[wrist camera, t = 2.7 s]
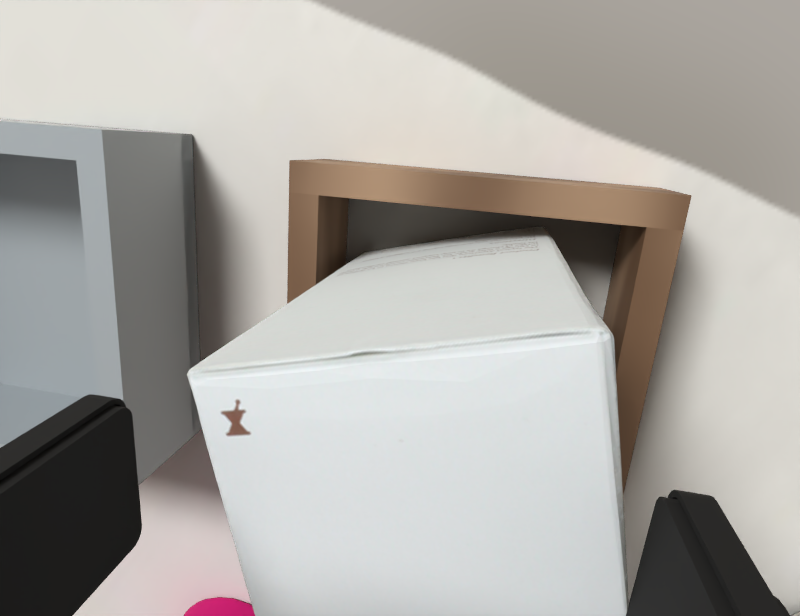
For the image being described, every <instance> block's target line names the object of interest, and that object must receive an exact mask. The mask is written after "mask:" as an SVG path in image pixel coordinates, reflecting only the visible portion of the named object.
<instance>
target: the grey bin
mask: <svg viewBox="0 0 800 616" xmlns="http://www.w3.org/2000/svg"><path fill="white" fill-rule="evenodd" d="M198 363H200V345H199V316H198V286H197V257H196V228H195V198H194V169H193V139H192V134H179V133H167V132H155V131H143V130H130V129H118V128H106V127H94V126H81V125H69V124H57V123H45V122H32V121H20V120H8V119H0V448H1V447H2V446H4V445H6V444H7V443H9V442H11V441H12V440H14V439H15V438H17V437H19V436H20V435H22V434H24V433H25V432H27V431H28V430H30V429H32V428H33V427H35V426H37V425H38V424H40V423H42V422H43V421H45V420H46V419H48V418H50V417H51V416H53V415H55V414H56V413H58V412H59V411H61V410H63V409H64V408H66V407H68V406H69V405H71V404H73V403H74V402H76V401H77V400H79V399H81V398H82V397H84V396H86V395H89V394H94V395H101V396H107V397H113V398H119V399H121V400H123V402H124V403H125V405H126V408H128V409H130V411H131V412H132V416H133V428H134V440H135V451H136V463H137V475H138V485H139V484H140V483H142V482H143V481H144V480H145V479H146V478H147V477H148V476H149V475H151V474H152V473H153V472H154V471H155V470H156V469H157V468H158V467H160V466H161V465H162V464H163V463H164V462H165V461H166V460H167V459H168V458H170V457H171V456H172V455H173V454H174V453H175V452H176V451H177V450H179V449H180V448H181V447H182V446H183V445H184V444H185V443H186V442H188V441H189V440H190V439H191V438H192V437H193V436H194V435H195V434H197V433H198V432H199V431H200V430H201V429H202V426H201V422H200V418H199V414H198V410H197V406H196V402H195V399H194V396H193V393H192V389H191V386H190V383H189V380H188V377H187V373H188V371H189V370H190V369H191V368H192V367H194V366H195V365H197V364H198Z"/></svg>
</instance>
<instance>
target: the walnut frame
mask: <svg viewBox="0 0 800 616" xmlns="http://www.w3.org/2000/svg"><path fill="white" fill-rule="evenodd" d="M349 198H352V199H363V200H373V201H383V202H393V203H403V204H414V205H424V206H434V207H444V208H455V209H465V210H475V211H485V212H496V213H506V214H516V215H526V216H536V217H547V218H557V219H567V220H577V221H588V222H598V223H608V224H618V225H621V229H620V234H619V239H618V244H617V250H616V255H615V260H614V265H613V270H612V275H611V280H610V286H609V291H608V296H607V301H606V306H605V311H604V317H603V322H604V323H605V324H606V325H607V327H608V328H609V330H610V331H611V332H612V334H613V336H614V346H615V367H616V384H617V401H618V417H619V434H620V450H621V468H622V487H623V493H624V489H625V485H626V480H627V476H628V471H629V467H630V463H631V458H632V454H633V450H634V445H635V441H636V436H637V432H638V428H639V423H640V419H641V414H642V410H643V406H644V401H645V397H646V393H647V388H648V384H649V379H650V375H651V371H652V366H653V362H654V358H655V353H656V349H657V344H658V340H659V336H660V331H661V327H662V322H663V318H664V314H665V309H666V305H667V301H668V296H669V292H670V287H671V283H672V279H673V274H674V270H675V265H676V261H677V257H678V252H679V248H680V244H681V239H682V235H683V230H684V226H685V222H686V217H687V213H688V208H689V204H690V200H691V195H687V194H683V193H679V192H674V191H670V190H666V189H662V188H655V187H643V186H631V185H620V184H608V183H597V182H585V181H573V180H562V179H550V178H538V177H527V176H515V175H504V174H492V173H480V172H469V171H457V170H445V169H434V168H422V167H411V166H399V165H387V164H376V163H364V162H352V161H341V160H329V159H316V160H290V169H289V232H288V294H287V304H288V303H289V302H291V301H292V300H294V299H295V298H297V297H298V296H300V295H301V294H303V293H304V292H306V291H307V290H309V289H310V288H312V287H313V286H315V285H316V284H318V283H319V282H321V281H322V280H324V279H325V278H327V277H328V276H330V275H331V274H333V273H334V272H336V271H337V270H339V269H340V268H342V267H343V266H344V265H346V249H347V228H348V207H349Z"/></svg>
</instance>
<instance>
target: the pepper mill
mask: <svg viewBox="0 0 800 616" xmlns="http://www.w3.org/2000/svg"><path fill="white" fill-rule="evenodd" d="M184 616H255V614H254V610H253V607H252V605H250V604H248V603H245V602H242V601H240V600H236V599H233V598H222V597H218V598H211V599H205V600H202V601H200V602H198V603H196V604H195V605H193V606H192V607H190V608H189V609H188V610H187V612H186V613H185V614H184Z"/></svg>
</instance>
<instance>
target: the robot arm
mask: <svg viewBox="0 0 800 616" xmlns="http://www.w3.org/2000/svg"><path fill="white" fill-rule="evenodd" d="M141 529H142V523H141V511H140V499H139V487H138V475H137V463H136V451H135V440H134V428H133V416H132V412H131V411H130V409H128V408H126V405H125V403H124V402H123V400H121V399H119V398H113V397H107V396H101V395H94V394H89V395H86V396H84V397H82V398H81V399H79V400H77V401H76V402H74V403H73V404H71V405H69V406H68V407H66V408H64V409H63V410H61V411H59V412H58V413H56V414H55V415H53V416H51V417H50V418H48V419H46V420H45V421H43V422H42V423H40V424H38V425H37V426H35V427H33V428H32V429H30V430H28V431H27V432H25V433H24V434H22V435H20V436H19V437H17V438H15V439H14V440H12V441H11V442H9V443H7V444H6V445H4V446H2V447H1V448H0V616H72V615H73V614H74V613H75V612H76V611H77V610H78V609H79V608H80V607H81V605H82V604H83V603H84V602H85V601H86V600H87V599H88V598H89V597H90V595H91V594H92V593H93V592H94V591H95V590H96V589H97V588H98V587H99V585H100V584H101V583H102V582H103V581H104V580H105V579H106V578H107V577H108V575H109V574H110V573H111V572H112V571H113V570H114V569H115V568H116V567H117V566H118V564H119V563H120V562H121V561H122V560H123V559H124V558H125V557H126V556H127V554H128V553H129V552H130V551H131V550H132V549H133V548H134V546H135V545H136V543H137V541H138V540H139V537H140V534H141ZM626 616H790V615H789V613H788V611H787V610H786V608H785V607H784V606H783V604H782V603H781V602H780V600H779V599H777V598H776V597H774V596H773V595H772V593H771V591H770V590H769V588H768V586H767V585H766V583H765V581H764V580H763V578H762V576H761V575H760V573H759V571H758V570H757V568H756V566H755V564H754V563H753V561H752V559H751V558H750V556H749V554H748V553H747V551H746V549H745V548H744V546H743V544H742V543H741V541H740V539H739V538H738V536H737V534H736V533H735V531H734V529H733V528H732V526H731V524H730V523H729V521H728V519H727V518H726V516H725V514H724V513H723V511H722V509H721V508H720V506H719V504H718V503H717V501H716V500H715V499H714V497H712V496H709V495H703V494H697V493H691V492H685V491H679V490H673V491H671V493H670V494H669V496H668V498H665V497H659V498H658V499H657V501H656V504H655V507H654V511H653V515H652V519H651V523H650V526H649V530H648V534H647V538H646V542H645V545H644V549H643V553H642V557H641V561H640V564H639V568H638V572H637V576H636V580H635V583H634V587H633V591H632V595H631V599H630V602H629V606H628V610H627V614H626ZM792 616H800V612H798V613H796V614H794V615H792Z"/></svg>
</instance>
